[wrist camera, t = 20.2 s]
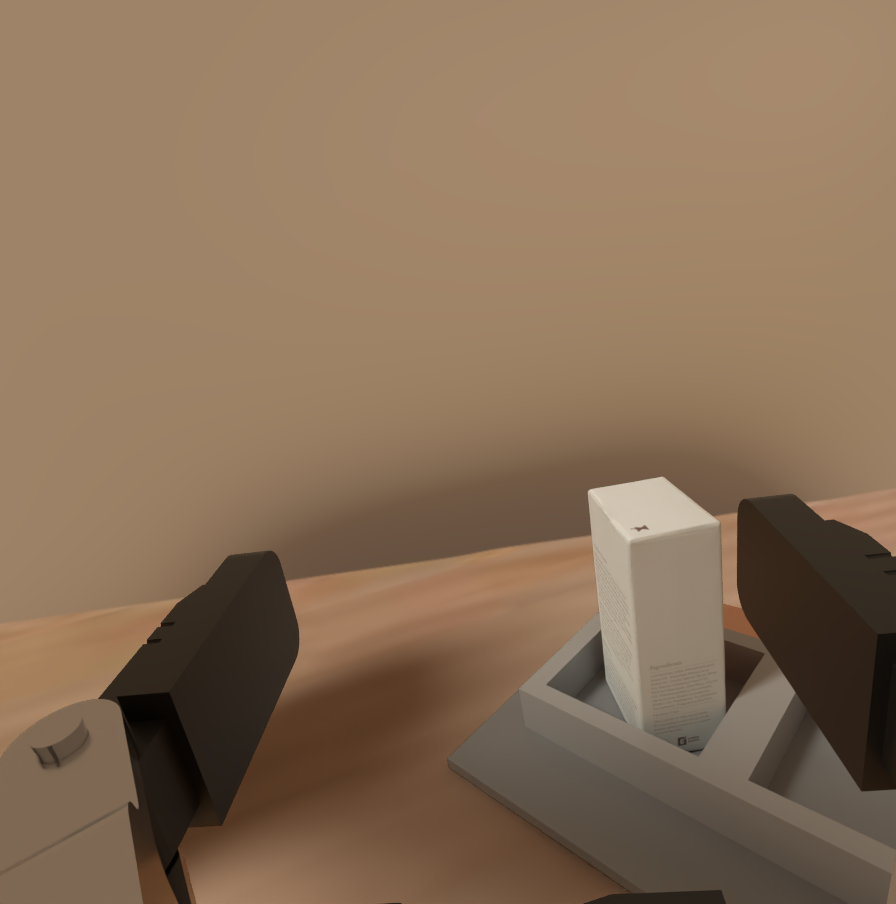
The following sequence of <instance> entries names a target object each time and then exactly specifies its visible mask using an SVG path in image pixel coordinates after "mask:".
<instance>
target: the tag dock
mask: <svg viewBox="0 0 896 904" xmlns="http://www.w3.org/2000/svg"><path fill="white" fill-rule="evenodd" d="M723 621H724V650H725V695H726V715H725V717H724V718H723V720H722V721H721V723H720V724H719V726H718V727H717V729H716V731H715V732H714V734H713V735H712V737H711V738H710V740H709V742H708V743H707V745H706V746H705V748H704V749H700V750H695V751H690V752H687V751H685V750H683V749H681V748H679V747H677V746H674V745H672V744H670V743H668V742H666V741H664V740H662V739H660V738H658V737H655V736H653V735H651V734H649V733H647V732H645V731H643V730H641V729H638V728H636V727H634V726H632V725H630V724H628V723H627V722H626V720H625V718H624V716H623V714H622V712H621V710H620V708H619V706H618V704H617V702H616V700H615V698H614V696H613V694H612V691H611V689H610V687H609V685H608V683H607V682H606V675H605V664H604V654H603V643H602V632H601V623H600V612H598V613H597V614H596V615H595V616H594V617H593V618H592V619H591V620H590V621H589V622H588V623H587V624H586V625H585V626H584V627H583V628H582V629H581V630H580V631H579V632H577V633H576V634H575V635H574V636H573V637H572V638H571V639H570V640H569V641H568V642H567V643H566V644H565V645H564V646H563V647H562V648H561V649H560V650H559V651H558V652H557V653H556V654H554V655H553V656H552V657H551V658H550V659H549V660H548V661H547V662H546V663H545V664H544V665H543V666H542V667H541V668H540V669H539V670H538V671H537V672H536V673H535V674H534V675H533V676H532V677H530V678H529V679H528V680H527V681H526V682H525V683H524V684H523V685H522V686H521V687H520V688H519V690H518V691H517V692H516V693H515V694H514V695H513V696H512V697H511V698H510V699H508V700H507V701H506V702H505V703H504V704H503V705H502V706H501V707H500V708H499V709H498V710H497V711H496V712H495V713H494V714H493V715H492V716H491V717H490V718H489V719H488V720H487V721H486V722H484V723H483V724H482V725H481V726H480V727H479V728H478V729H477V730H476V731H475V732H474V733H473V734H472V735H471V736H470V737H469V738H468V739H467V740H466V741H465V742H464V743H463V744H462V745H461V746H459V747H458V748H457V749H456V750H455V751H454V752H453V753H452V754H451V755H450V756H449V757H448V758H447V761H448V765H449V768H451V769H452V770H454V771H455V772H456V773H458V774H459V775H461V776H462V777H464V778H465V779H467V780H468V781H470V782H471V783H472V784H474V785H475V786H477V787H478V788H480V789H481V790H483V791H484V792H486V793H487V794H488V795H490V796H491V797H493V798H494V799H496V800H497V801H499V802H500V803H502V804H503V805H504V806H506V807H507V808H509V809H510V810H512V811H513V812H515V813H516V814H518V815H519V816H521V817H522V818H523V819H525V820H526V821H528V822H529V823H531V824H532V825H534V826H535V827H537V828H538V829H539V830H541V831H542V832H544V833H545V834H547V835H548V836H550V837H551V838H553V839H554V840H555V841H557V842H558V843H560V844H561V845H563V846H564V847H566V848H567V849H569V850H570V851H571V852H573V853H574V854H576V855H577V856H579V857H580V858H582V859H583V860H585V861H586V862H588V863H589V864H590V865H592V866H593V867H595V868H596V869H598V870H599V871H601V872H602V873H604V874H605V875H606V876H608V877H609V878H611V879H612V880H614V881H615V882H617V883H618V884H620V885H621V886H622V887H624V888H625V889H627V890H628V891H630V892H631V893H656V892H680V891H705V890H722V893H723V896H724V899H725V902H726V904H887V899H888V893H889V887H890V882H891V876H892V870H893V864H894V859H895V853H896V790H880V791H863V792H861V790H860V789H859V787H858V786H857V784H856V783H855V781H854V780H853V778H852V777H851V775H850V774H849V772H848V771H847V769H846V768H845V766H844V765H843V763H842V762H841V760H840V759H839V757H838V756H837V754H836V753H835V751H834V750H833V748H832V747H831V745H830V744H829V742H828V741H827V739H826V738H825V736H824V735H823V733H822V732H821V730H820V729H819V727H818V726H817V724H816V723H815V721H814V720H813V718H812V717H811V715H810V714H809V712H808V711H807V709H806V707H805V706H804V704H803V703H802V701H801V700H800V698H799V697H798V695H797V694H796V692H795V691H794V689H793V688H792V686H791V685H790V683H789V682H788V680H787V679H786V677H785V676H784V674H783V673H782V671H781V670H780V668H779V667H778V665H777V664H776V662H775V661H774V659H773V658H772V656H771V655H770V653H769V652H768V650H767V649H766V647H765V646H764V644H763V643H762V641H761V640H760V638H759V637H758V635H757V634H756V632H755V631H754V629H753V628H752V626H751V625H750V623H749V622H748V620H747V618H746V616H745V614H744V612H743V609H741V608H737V607H733V606H730V605H726V604H723Z"/></svg>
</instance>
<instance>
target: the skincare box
mask: <svg viewBox="0 0 896 904" xmlns="http://www.w3.org/2000/svg"><path fill="white" fill-rule="evenodd" d="M588 499H589V509H590V520H591V531H592V542H593V552H594V563H595V573H596V583H597V592H598V603H599V612H600V623H601V632H602V643H603V654H604V664H605V675H606V682H607V683H608V685H609V687H610V689H611V691H612V694H613V696H614V698H615V700H616V702H617V704H618V706H619V708H620V710H621V712H622V714H623V716H624V718H625V720H626V722H627V723H628V724H630V725H632V726H634V727H636V728H638V729H641V730H643V731H645V732H647V733H649V734H651V735H653V736H655V737H658V738H660V739H662V740H664V741H666V742H668V743H670V744H672V745H674V746H677V747H679V748H681V749H683V750H685V751H687V752H690V751H695V750H700V749H704V748H705V746H706V745H707V743H708V742H709V740H710V738H711V737H712V735H713V734H714V732H715V731H716V729H717V727H718V726H719V724H720V723H721V721H722V720H723V718H724V717H725V715H726V695H725V650H724V621H723V582H722V546H721V523H720V522H719V521H718V520H717V519H716V518H714V517H713V516H712V515H710V514H709V513H708V512H706V511H705V510H704V509H703V508H701V507H700V506H699V505H698V504H696V503H695V502H694V501H693V500H691V499H690V498H689V497H688V496H686V495H685V494H684V493H683V492H681V491H680V490H679V489H678V488H676V487H675V486H674V485H673V484H671V483H670V482H669V481H668V480H667V479H665V478H664V477H659V478H653V479H648V480H642V481H637V482H632V483H625V484H619V485H614V486H609V487H602V488H596V489H591V490H589V491H588Z"/></svg>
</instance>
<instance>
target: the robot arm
mask: <svg viewBox="0 0 896 904" xmlns="http://www.w3.org/2000/svg"><path fill="white" fill-rule="evenodd" d="M737 588H738V594H739V599H740V603H741V606H742V609H743V612H744V614H745V616H746V618H747V620H748V622H749V623H750V625H751V626H752V628H753V629H754V631H755V632H756V634H757V635H758V637H759V638H760V640H761V641H762V643H763V644H764V646H765V647H766V649H767V650H768V652H769V653H770V655H771V656H772V658H773V659H774V661H775V662H776V664H777V665H778V667H779V668H780V670H781V671H782V673H783V674H784V676H785V677H786V679H787V680H788V682H789V683H790V685H791V686H792V688H793V689H794V691H795V692H796V694H797V695H798V697H799V698H800V700H801V701H802V703H803V704H804V706H805V707H806V709H807V711H808V712H809V714H810V715H811V717H812V718H813V720H814V721H815V723H816V724H817V726H818V727H819V729H820V730H821V732H822V733H823V735H824V736H825V738H826V739H827V741H828V742H829V744H830V745H831V747H832V748H833V750H834V751H835V753H836V754H837V756H838V757H839V759H840V760H841V762H842V763H843V765H844V766H845V768H846V769H847V771H848V772H849V774H850V775H851V777H852V778H853V780H854V781H855V783H856V784H857V786H858V787H859V789H860V790H861V792H863V791H880V790H896V556H895V557H892V556H891V552H889V551H888V550H887V549H886V548H884V547H883V546H882V545H881V544H879V543H878V542H877V541H876V540H874V539H873V538H872V537H871V536H869V535H868V534H867V533H864V532H862V531H859V530H857V529H855V528H852V527H850V526H848V525H845V524H843V523H841V522H838V521H836V520H826V521H824V520H823V519H822V518H821V517H820V516H819V515H817V514H816V513H815V512H814V511H813V510H812V509H811V508H809V507H808V506H807V505H806V504H805V503H804V502H802V501H801V500H800V499H799V498H798V497H797V496H795V495H793V494H786V495H776V496H767V497H758V498H750V499H743V500H742V501H741V502H740V504H739V507H738V516H737ZM298 649H299V628H298V623H297V619H296V615H295V612H294V608H293V605H292V601H291V598H290V595H289V591H288V588H287V584H286V581H285V577H284V574H283V570H282V567H281V563H280V561H279V558H278V557H277V555H276V554H275V553H274V552H273V551H263V552H253V553H244V554H235V555H230V556H228V557H227V558H226V559H225V560H224V562H223V563H222V564H221V566H220V567H219V568H218V569H217V571H216V572H215V573H214V574H213V576H212V577H211V578H210V579H209V581H208V582H207V583H206V584H205V585H202V586H201V587H199V588H198V589H196V590H195V591H194V592H192V593H191V594H190V595H188V596H187V597H185V598H184V599H183V600H181V601H180V602H178V603H177V604H176V606H175V607H174V608H173V609H172V610H171V612H170V613H169V614H168V615H167V616H166V618H165V619H164V620H163V621H162V622H161V627H157V628H156V630H155V631H154V632H153V633H152V634H151V636H150V637H149V638H148V639H147V644H143V645H142V647H141V648H140V649H139V650H138V651H137V653H136V654H135V655H134V656H133V657H132V659H131V660H130V661H129V662H128V663H127V665H126V666H125V667H124V668H123V669H122V671H121V672H120V673H119V674H118V675H117V677H116V678H115V679H114V680H113V681H112V683H111V684H110V685H109V686H108V687H107V689H106V690H105V691H104V692H103V694H102V695H101V696H100V697H99V698H98V699H93V700H87V701H82V702H78V703H75V704H72V705H69V706H67V707H64V708H62V709H60V710H58V711H56V712H54V713H52V714H50V715H48V716H46V717H44V718H43V719H41V720H39V721H38V722H36V723H35V724H34V725H32V726H31V727H29V728H28V729H27V730H25V731H24V732H23V733H22V734H21V735H19V736H18V737H17V738H16V739H15V740H14V741H13V742H12V743H11V744H10V745H9V747H8V748H7V749H6V750H5V752H4V753H3V754H2V756H1V757H0V904H196V900H195V896H194V892H193V888H192V884H191V880H190V876H189V872H188V868H187V864H186V860H185V858H184V855H183V853H182V851H181V848H180V846H179V845H180V843H181V841H182V839H183V837H184V835H185V833H186V831H187V829H188V828H189V827H206V826H222V824H223V822H224V820H225V817H226V815H227V813H228V811H229V808H230V806H231V804H232V802H233V799H234V797H235V795H236V793H237V790H238V788H239V786H240V784H241V781H242V779H243V777H244V775H245V772H246V770H247V768H248V766H249V763H250V761H251V759H252V757H253V755H254V752H255V750H256V748H257V746H258V743H259V741H260V739H261V737H262V734H263V732H264V730H265V728H266V725H267V723H268V721H269V719H270V716H271V714H272V712H273V710H274V707H275V705H276V703H277V701H278V698H279V696H280V694H281V692H282V690H283V687H284V685H285V683H286V681H287V678H288V676H289V674H290V672H291V669H292V667H293V665H294V663H295V660H296V658H297V654H298ZM387 904H401V903H387ZM584 904H726V902H725V899H724V896H723V893H722V890H705V891H680V892H656V893H632V894H611V895H608V896H605V897H602V898H599V899H596V900H593V901H590V902H587V903H584ZM887 904H896V853H895V859H894V864H893V870H892V876H891V882H890V887H889V893H888V899H887Z"/></svg>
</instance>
